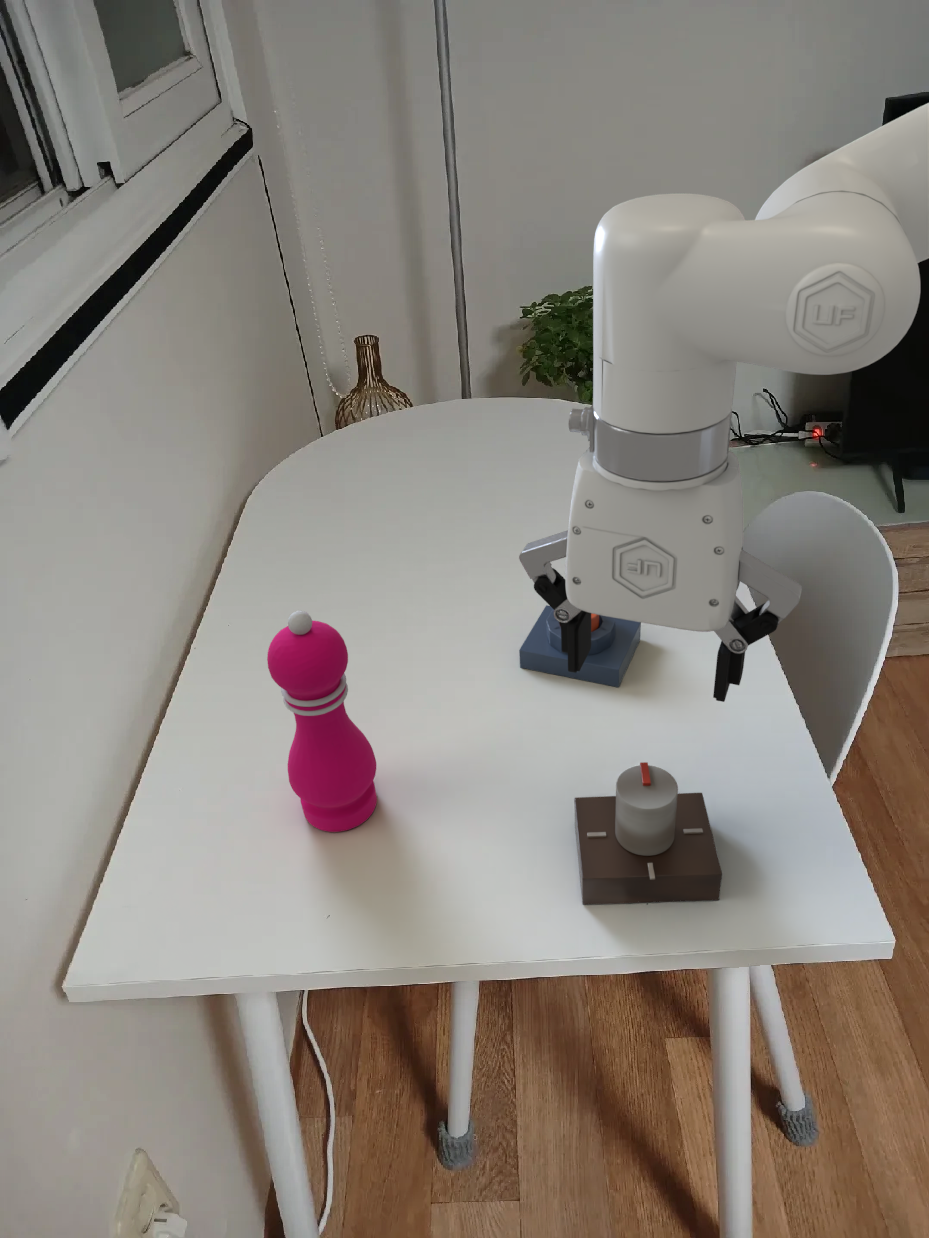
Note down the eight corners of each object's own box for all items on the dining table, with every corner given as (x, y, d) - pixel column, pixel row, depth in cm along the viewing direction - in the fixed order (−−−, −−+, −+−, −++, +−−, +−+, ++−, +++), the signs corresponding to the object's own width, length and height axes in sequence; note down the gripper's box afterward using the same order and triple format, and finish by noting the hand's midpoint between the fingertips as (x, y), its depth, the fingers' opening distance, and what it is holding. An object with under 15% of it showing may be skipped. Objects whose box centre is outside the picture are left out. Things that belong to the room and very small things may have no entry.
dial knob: (678, 855, 70) (682, 805, 67) (617, 856, 70) (618, 806, 67) (670, 810, 73) (673, 761, 70) (612, 811, 74) (613, 762, 71)
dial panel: (698, 815, 77) (701, 787, 75) (720, 903, 70) (723, 875, 68) (574, 820, 77) (573, 792, 75) (582, 908, 70) (582, 880, 68)
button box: (640, 639, 96) (641, 606, 94) (618, 687, 90) (619, 654, 88) (546, 622, 100) (545, 590, 97) (519, 667, 94) (518, 635, 92)
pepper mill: (303, 847, 77) (252, 652, 66) (293, 786, 83) (244, 597, 71) (390, 824, 78) (355, 629, 67) (374, 766, 84) (338, 577, 73)
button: (603, 617, 94) (603, 602, 93) (593, 638, 91) (593, 623, 90) (568, 610, 95) (568, 596, 94) (557, 631, 92) (556, 617, 91)
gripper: (492, 449, 54) (508, 683, 64) (814, 486, 48) (775, 738, 58) (536, 397, 59) (544, 620, 69) (830, 424, 53) (792, 664, 63)
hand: (649, 673), depth 63 cm, fingers open, 9 cm apart
